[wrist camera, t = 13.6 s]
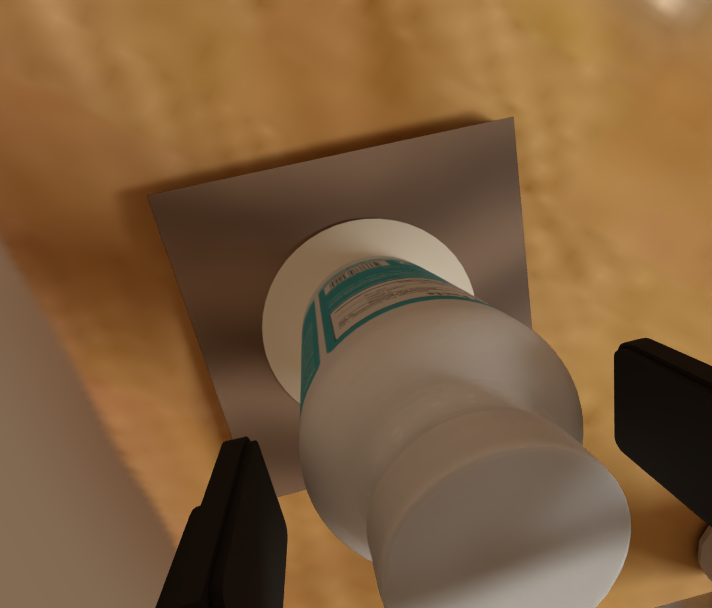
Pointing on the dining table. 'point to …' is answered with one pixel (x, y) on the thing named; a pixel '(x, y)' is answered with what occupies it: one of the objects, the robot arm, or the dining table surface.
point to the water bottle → (706, 552)
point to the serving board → (334, 257)
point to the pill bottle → (451, 447)
